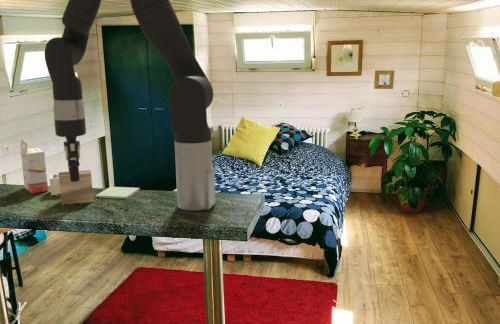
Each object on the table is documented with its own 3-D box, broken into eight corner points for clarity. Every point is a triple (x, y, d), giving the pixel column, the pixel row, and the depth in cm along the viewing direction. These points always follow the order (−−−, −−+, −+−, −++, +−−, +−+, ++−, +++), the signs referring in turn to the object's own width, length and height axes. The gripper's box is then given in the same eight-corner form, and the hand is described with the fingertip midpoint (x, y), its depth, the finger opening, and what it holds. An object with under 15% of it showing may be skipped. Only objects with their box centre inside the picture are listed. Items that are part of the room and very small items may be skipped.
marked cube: (70, 194, 139) (68, 176, 137) (51, 196, 137) (49, 178, 136) (69, 189, 143) (68, 172, 142) (51, 191, 141) (49, 174, 140)
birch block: (93, 201, 131) (91, 173, 129) (61, 205, 128) (58, 176, 126) (92, 197, 135) (90, 169, 133) (61, 201, 132) (58, 172, 130)
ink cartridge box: (49, 191, 142) (44, 141, 138) (31, 194, 139) (25, 143, 135) (41, 185, 148) (36, 137, 145) (24, 187, 145) (18, 139, 142)
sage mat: (139, 189, 142) (139, 187, 142) (126, 198, 133) (126, 196, 133) (110, 188, 143) (110, 186, 143) (95, 197, 135) (95, 195, 135)
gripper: (86, 119, 121) (91, 182, 125) (83, 113, 134) (87, 170, 138) (54, 121, 119) (59, 185, 122) (54, 114, 132) (59, 172, 135)
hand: (74, 177), depth 130 cm, fingers open, 8 cm apart
